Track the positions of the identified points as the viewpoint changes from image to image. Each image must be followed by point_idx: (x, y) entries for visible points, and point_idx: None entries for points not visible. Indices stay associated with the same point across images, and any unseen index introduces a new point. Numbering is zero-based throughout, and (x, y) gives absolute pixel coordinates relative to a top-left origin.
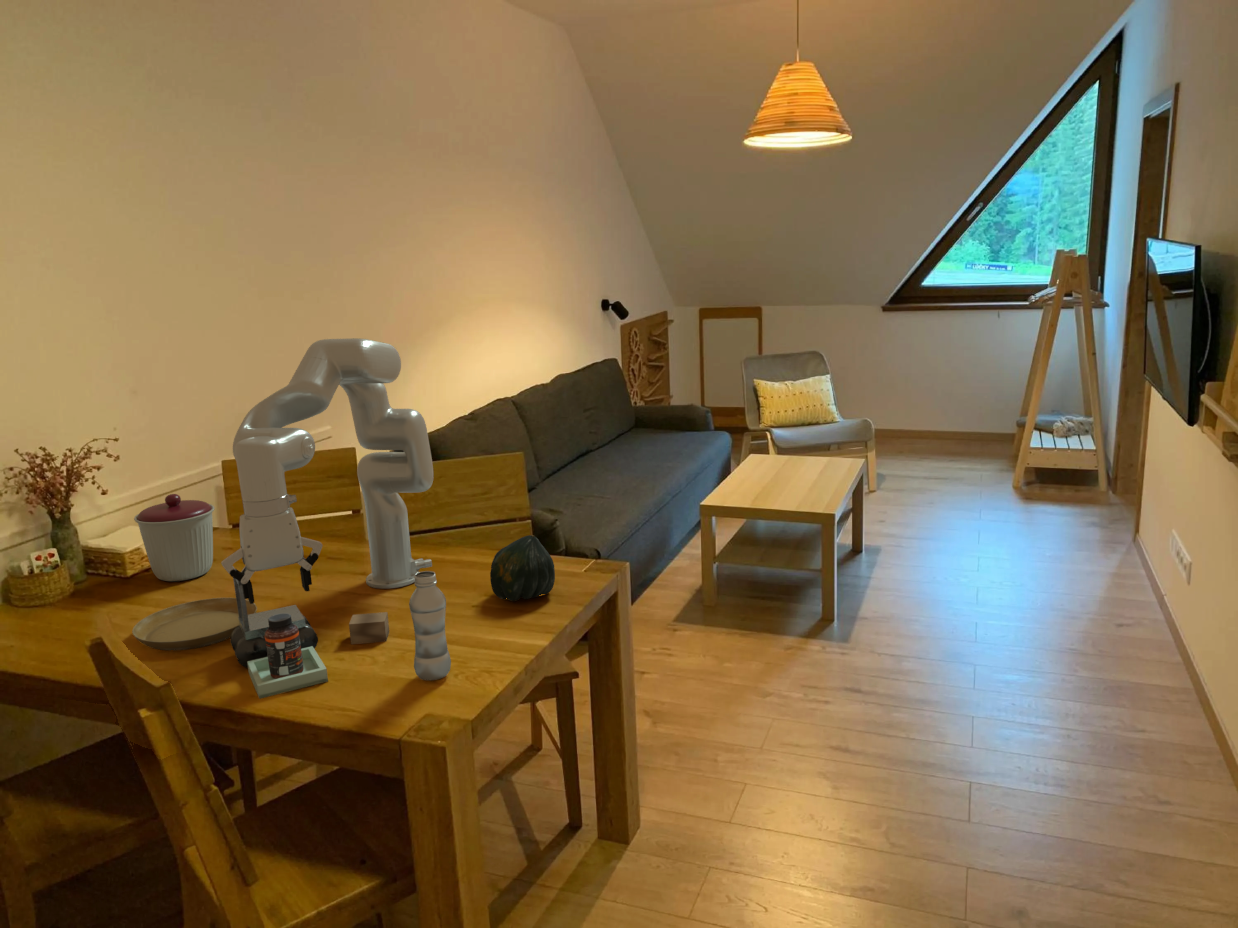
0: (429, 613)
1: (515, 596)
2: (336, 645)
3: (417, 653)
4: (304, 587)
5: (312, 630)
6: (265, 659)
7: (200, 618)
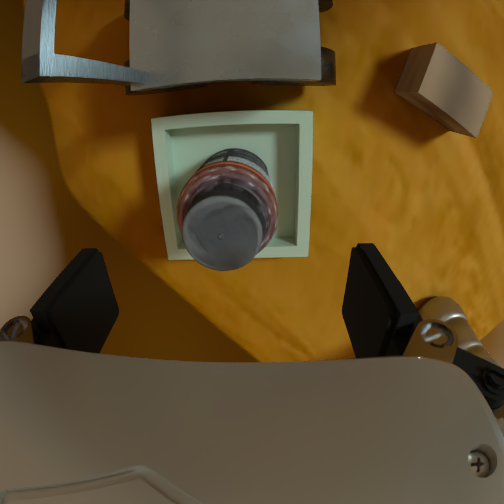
0: None
1: None
2: (366, 75)
3: None
4: (347, 308)
5: (329, 82)
6: (192, 126)
7: None
